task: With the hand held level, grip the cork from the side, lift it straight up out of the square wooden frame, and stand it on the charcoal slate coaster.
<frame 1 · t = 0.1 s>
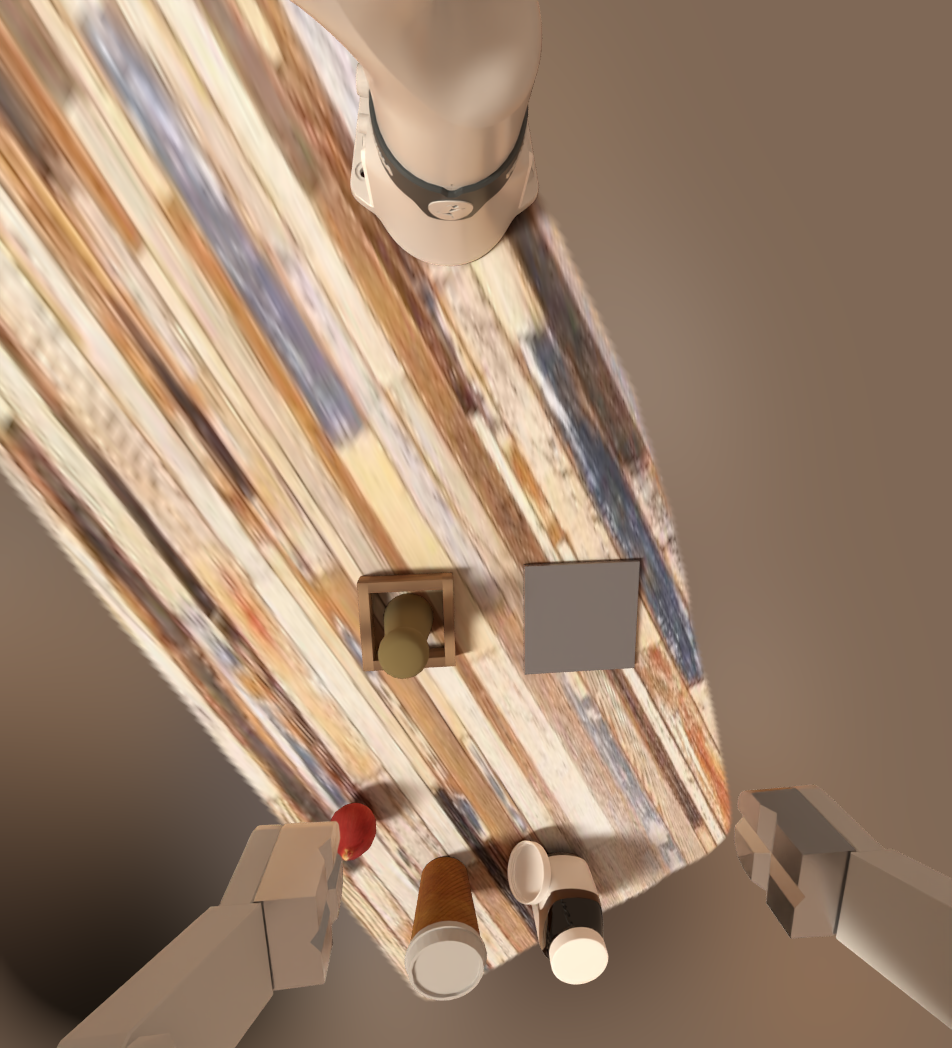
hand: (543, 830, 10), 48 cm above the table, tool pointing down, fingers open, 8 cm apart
square wooden frame: (408, 617, 59), on the table
spread jar: (544, 865, 69), on the table
onion: (357, 805, 65), on the table
coaster: (579, 616, 61), on the table
disposable coffee cup: (444, 874, 68), on the table
cork: (408, 616, 60), resting in square wooden frame
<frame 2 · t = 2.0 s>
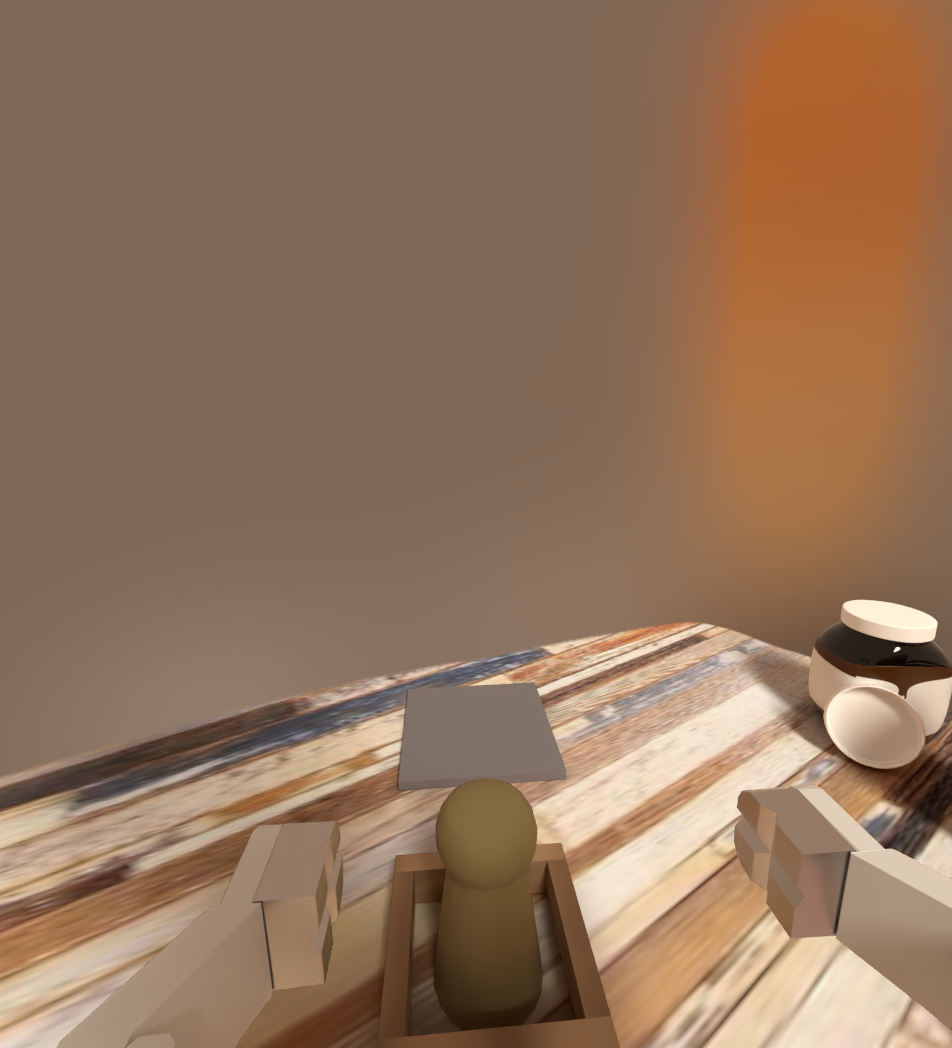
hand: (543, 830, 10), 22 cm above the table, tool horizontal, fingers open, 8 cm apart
square wooden frame: (487, 970, 27), on the table
spread jar: (870, 737, 47), on the table
coaster: (476, 731, 48), on the table
cork: (487, 973, 27), resting in square wooden frame
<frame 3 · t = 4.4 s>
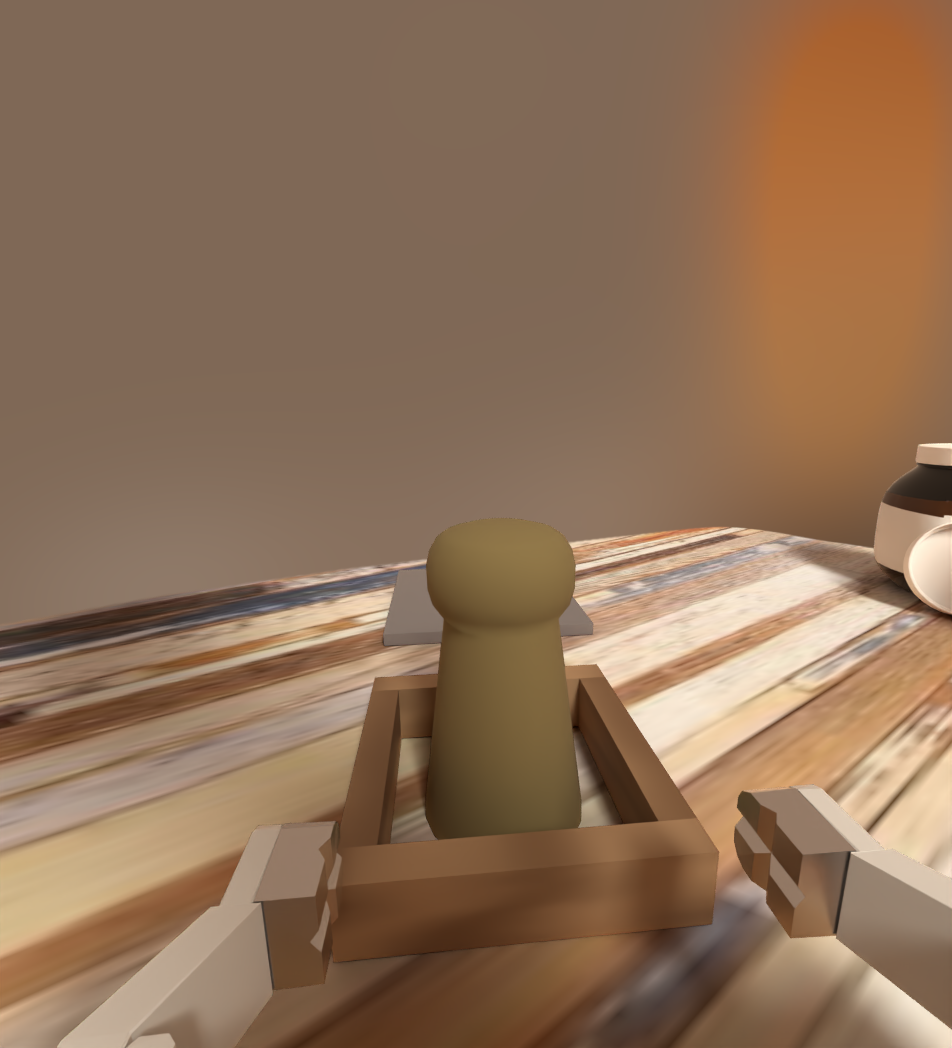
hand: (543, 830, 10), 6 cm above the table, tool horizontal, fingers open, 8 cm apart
square wooden frame: (502, 798, 19), on the table
coaster: (480, 601, 40), on the table
cork: (502, 803, 19), resting in square wooden frame
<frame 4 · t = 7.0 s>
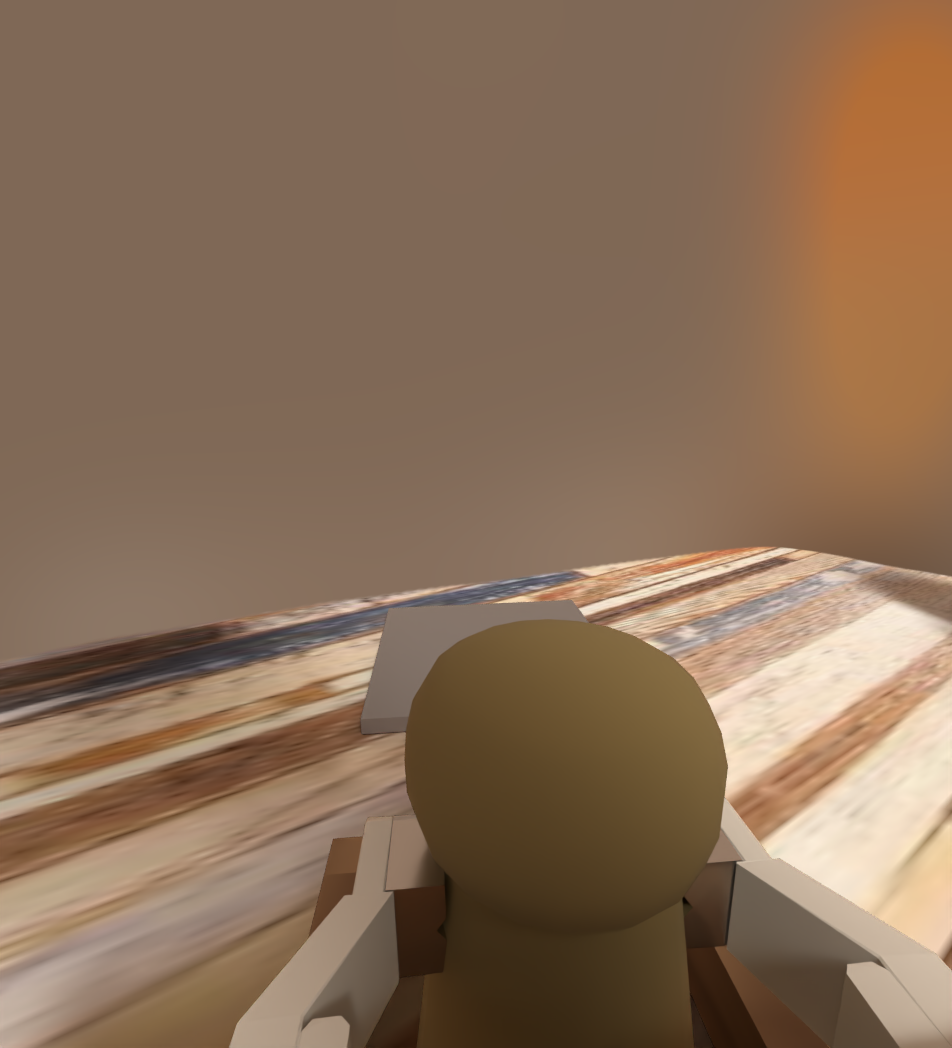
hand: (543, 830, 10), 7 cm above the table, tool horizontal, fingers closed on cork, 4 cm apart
coaster: (491, 657, 31), on the table
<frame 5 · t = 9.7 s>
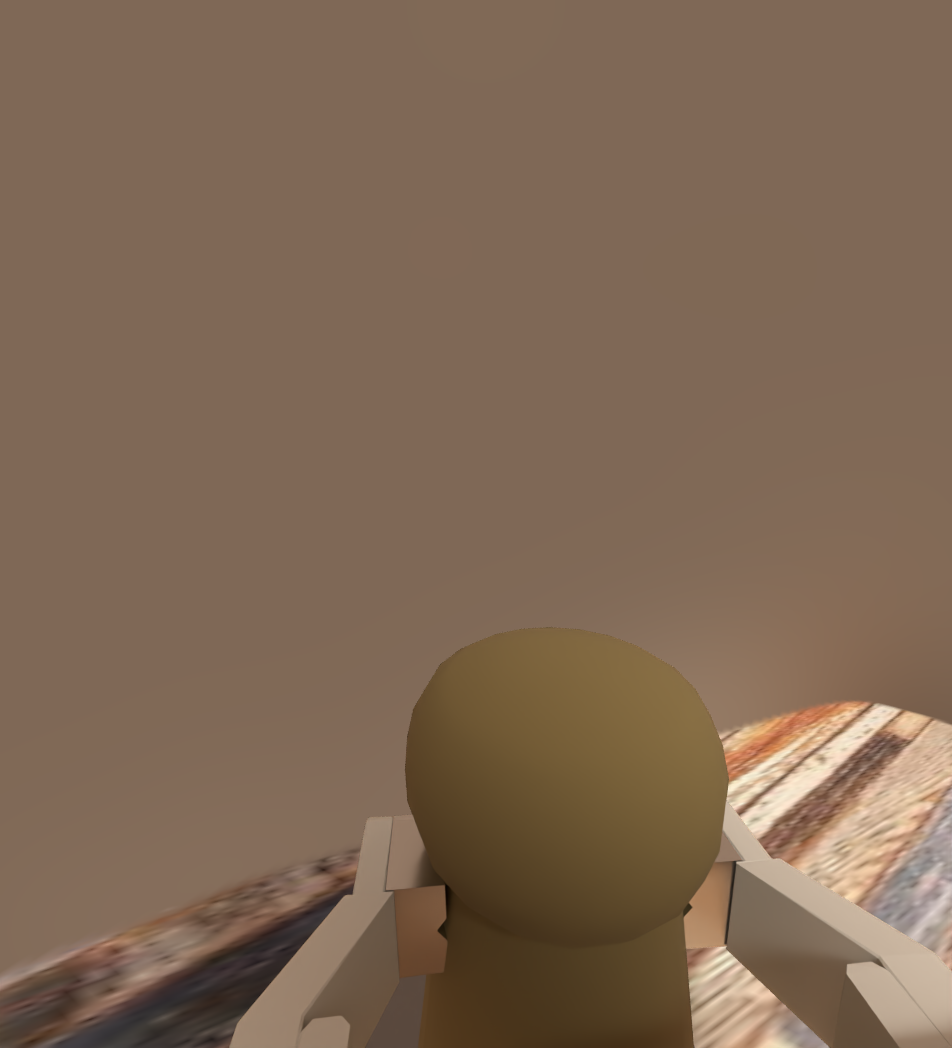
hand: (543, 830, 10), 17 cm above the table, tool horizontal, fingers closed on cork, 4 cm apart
when the fingers open (9 cm above the table, at t = 12.4 s): cork drops 1 cm, resting on coaster.
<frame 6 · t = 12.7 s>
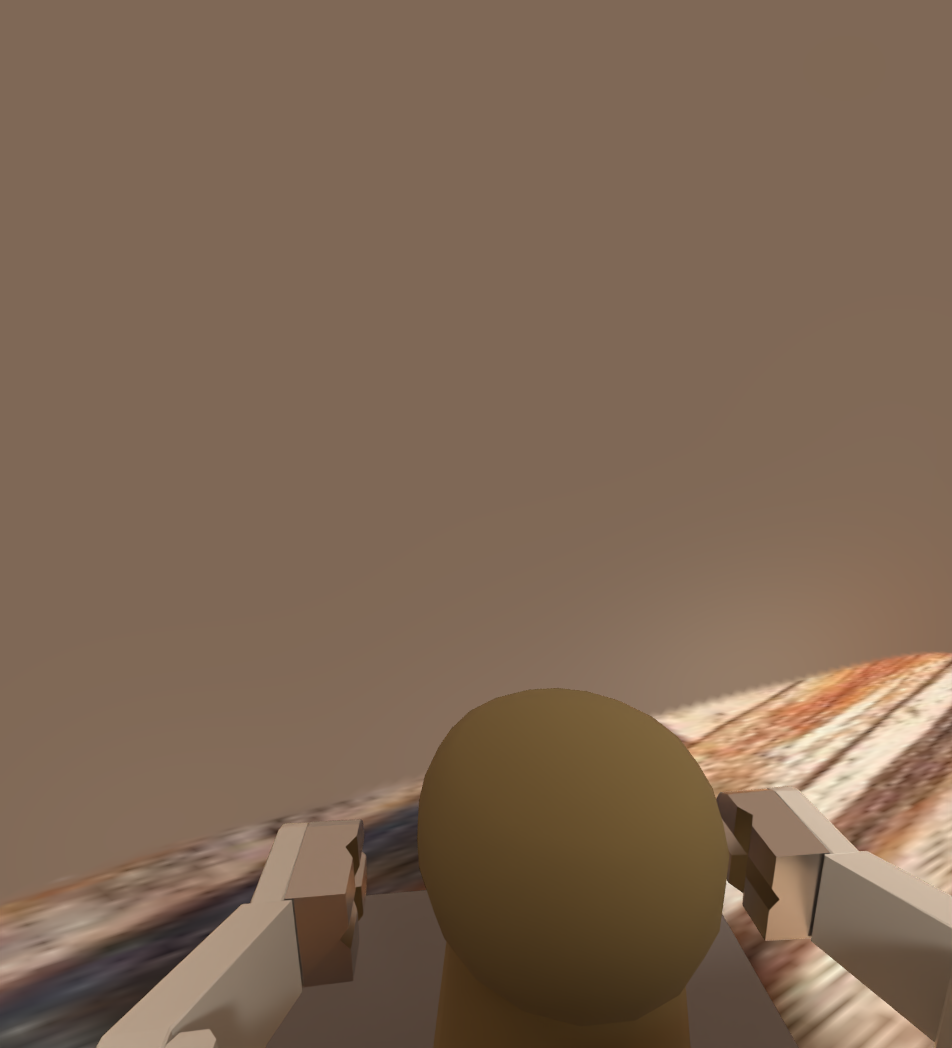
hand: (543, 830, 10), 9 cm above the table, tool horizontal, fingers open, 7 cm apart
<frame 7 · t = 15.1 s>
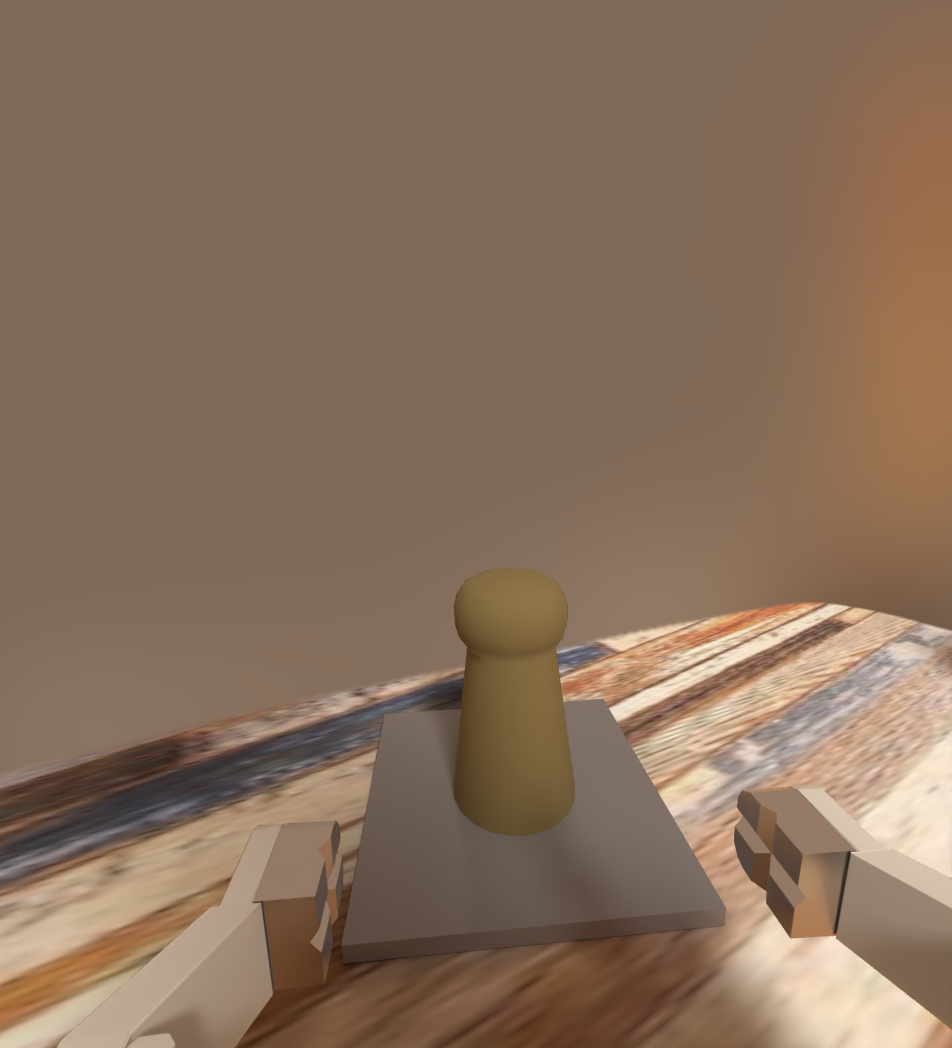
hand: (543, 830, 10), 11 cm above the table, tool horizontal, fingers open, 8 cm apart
coaster: (511, 799, 25), on the table
cork: (513, 789, 25), point 1 cm above the table, touching coaster
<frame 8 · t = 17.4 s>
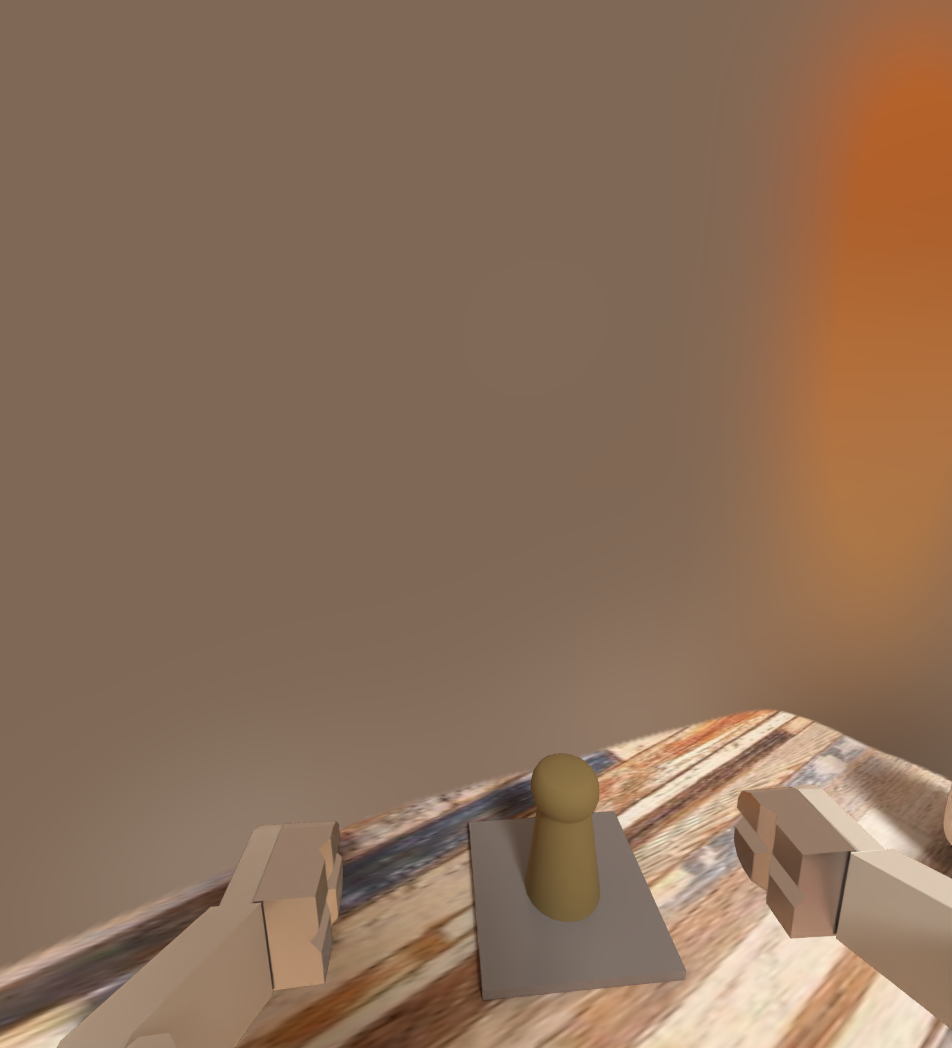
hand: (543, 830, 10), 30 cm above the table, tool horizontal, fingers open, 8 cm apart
coaster: (560, 892, 40), on the table
cork: (562, 887, 40), point 1 cm above the table, touching coaster
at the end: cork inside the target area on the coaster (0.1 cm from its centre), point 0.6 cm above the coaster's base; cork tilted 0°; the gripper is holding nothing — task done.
